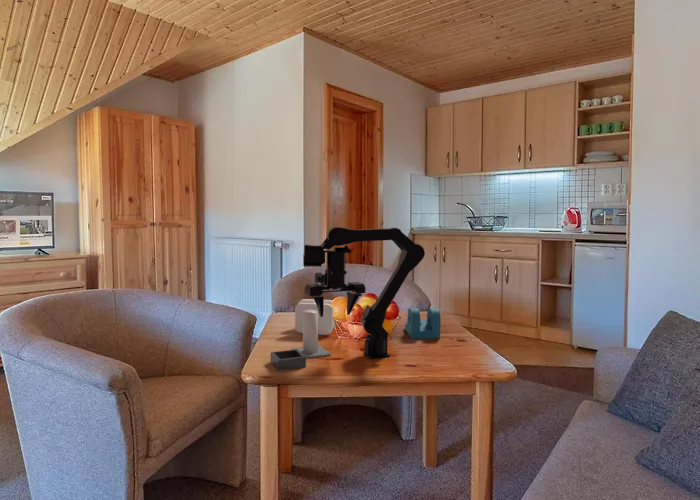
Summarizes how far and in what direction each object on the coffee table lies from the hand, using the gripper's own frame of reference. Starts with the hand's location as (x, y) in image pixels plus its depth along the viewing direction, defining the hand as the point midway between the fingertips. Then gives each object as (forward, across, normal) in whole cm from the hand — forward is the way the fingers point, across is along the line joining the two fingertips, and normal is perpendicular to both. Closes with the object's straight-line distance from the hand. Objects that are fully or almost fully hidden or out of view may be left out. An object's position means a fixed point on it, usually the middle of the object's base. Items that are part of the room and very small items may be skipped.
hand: (334, 315), depth 147 cm
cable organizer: (+13, -5, -31) cm, 34 cm away
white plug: (+12, +6, -6) cm, 15 cm away
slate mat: (+13, +6, -6) cm, 16 cm away
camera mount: (+13, -42, -14) cm, 46 cm away
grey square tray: (+13, +16, +2) cm, 21 cm away
